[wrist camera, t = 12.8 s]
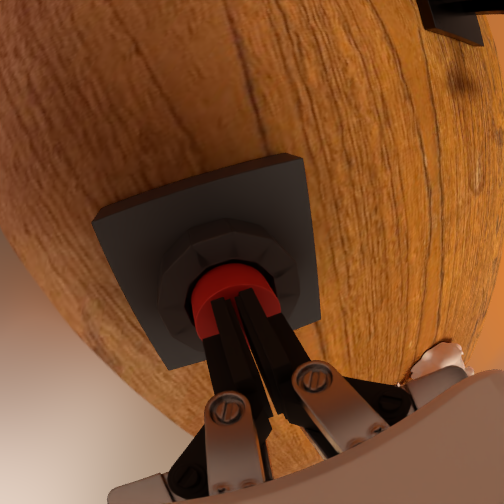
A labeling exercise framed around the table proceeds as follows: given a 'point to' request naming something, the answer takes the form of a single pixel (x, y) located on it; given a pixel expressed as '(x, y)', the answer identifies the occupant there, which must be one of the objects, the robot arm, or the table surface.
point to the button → (229, 294)
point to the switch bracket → (458, 17)
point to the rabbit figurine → (440, 360)
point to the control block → (212, 246)
